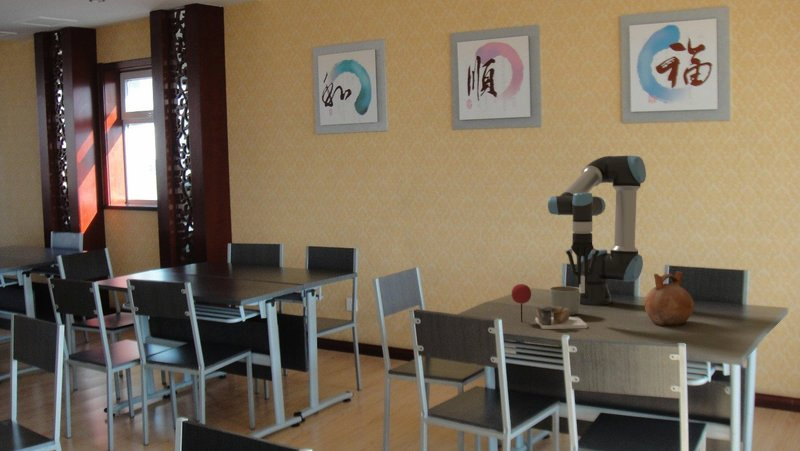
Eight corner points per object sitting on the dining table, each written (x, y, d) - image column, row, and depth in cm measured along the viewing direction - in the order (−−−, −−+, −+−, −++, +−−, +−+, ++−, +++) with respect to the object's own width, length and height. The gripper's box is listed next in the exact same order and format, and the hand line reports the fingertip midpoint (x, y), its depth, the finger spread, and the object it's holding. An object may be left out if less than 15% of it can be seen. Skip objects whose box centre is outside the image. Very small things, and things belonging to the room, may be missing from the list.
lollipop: (532, 320, 327) (532, 283, 325) (529, 324, 320) (529, 286, 318) (513, 319, 329) (513, 282, 328) (510, 323, 322) (509, 285, 321)
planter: (586, 314, 337) (586, 288, 336) (570, 319, 328) (570, 292, 327) (560, 310, 345) (560, 285, 344) (544, 315, 336) (544, 289, 335)
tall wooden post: (545, 320, 325) (545, 304, 325) (552, 328, 311) (552, 311, 310) (536, 320, 325) (536, 304, 325) (542, 328, 311) (542, 311, 310)
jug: (668, 330, 304) (669, 276, 302) (633, 321, 320) (634, 271, 318) (704, 324, 313) (704, 272, 311) (668, 316, 329) (669, 267, 327)
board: (578, 319, 326) (578, 316, 326) (587, 328, 310) (587, 325, 310) (535, 320, 326) (535, 317, 326) (542, 329, 310) (542, 325, 310)
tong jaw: (569, 318, 321) (569, 302, 321) (557, 326, 308) (557, 309, 307) (550, 316, 325) (550, 301, 324) (538, 324, 311) (538, 308, 311)
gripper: (596, 231, 321) (596, 290, 323) (563, 231, 321) (563, 291, 323) (601, 233, 314) (601, 293, 315) (567, 233, 314) (567, 294, 315)
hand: (582, 292), depth 319 cm, fingers closed
